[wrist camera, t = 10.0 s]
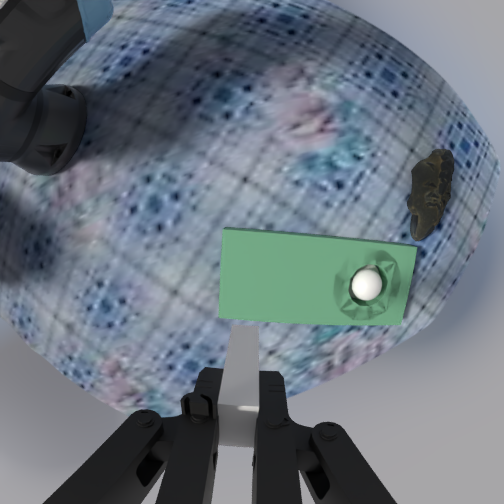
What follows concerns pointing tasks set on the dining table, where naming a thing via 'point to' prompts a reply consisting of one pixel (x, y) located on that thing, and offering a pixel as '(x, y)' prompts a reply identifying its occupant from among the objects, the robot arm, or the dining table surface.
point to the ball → (366, 284)
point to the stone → (430, 192)
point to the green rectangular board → (310, 278)
